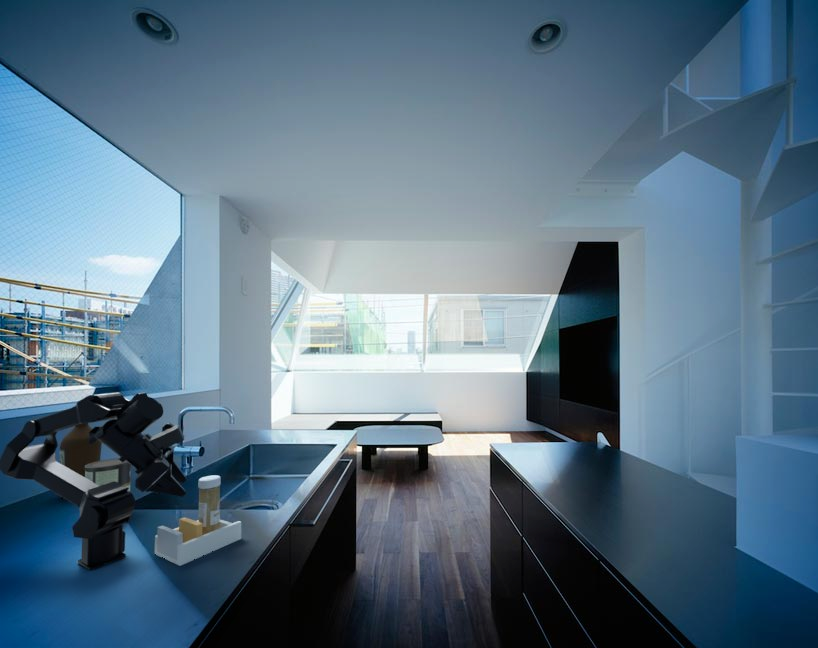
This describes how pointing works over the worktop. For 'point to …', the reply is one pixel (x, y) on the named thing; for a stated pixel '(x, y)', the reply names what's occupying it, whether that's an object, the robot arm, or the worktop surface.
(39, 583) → the worktop surface
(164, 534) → the tray
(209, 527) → the sprinkles bottle
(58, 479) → the robot arm
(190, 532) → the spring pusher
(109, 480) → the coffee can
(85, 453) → the olive oil
